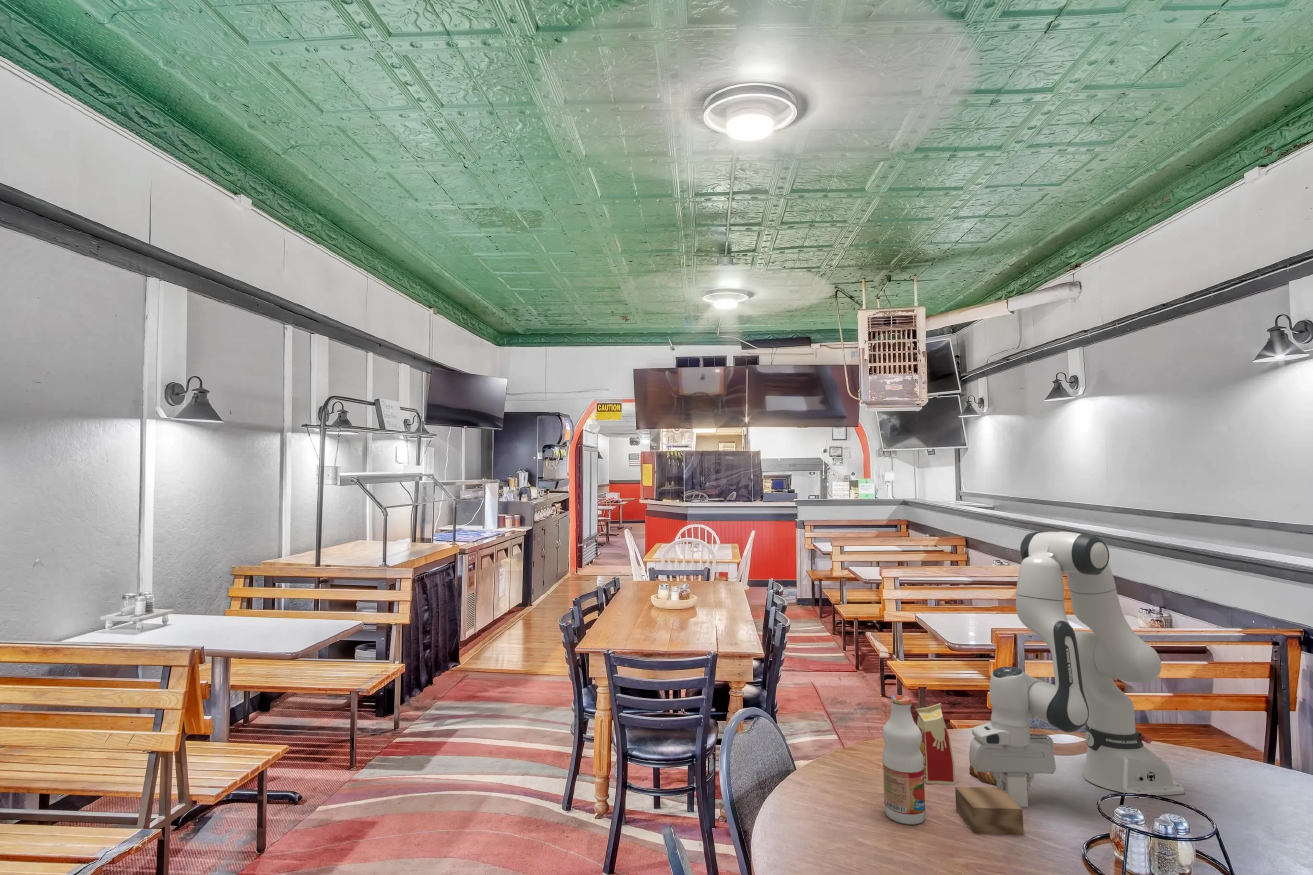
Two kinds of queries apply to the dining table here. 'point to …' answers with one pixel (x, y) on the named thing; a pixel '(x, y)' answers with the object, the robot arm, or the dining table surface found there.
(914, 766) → the fruit juice
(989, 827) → the block
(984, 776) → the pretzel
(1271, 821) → the dining table surface
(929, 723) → the milk carton
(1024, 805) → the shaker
